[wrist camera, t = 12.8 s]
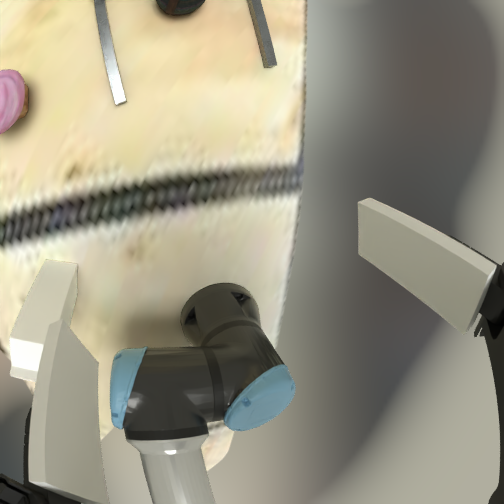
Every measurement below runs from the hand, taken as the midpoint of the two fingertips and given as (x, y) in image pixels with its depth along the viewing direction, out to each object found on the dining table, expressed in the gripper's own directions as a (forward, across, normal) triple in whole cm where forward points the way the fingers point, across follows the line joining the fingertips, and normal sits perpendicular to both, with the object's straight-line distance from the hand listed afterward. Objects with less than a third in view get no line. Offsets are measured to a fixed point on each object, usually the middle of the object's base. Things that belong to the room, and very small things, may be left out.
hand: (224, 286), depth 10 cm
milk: (+32, +23, +10) cm, 41 cm away
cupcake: (+32, +19, -19) cm, 42 cm away
